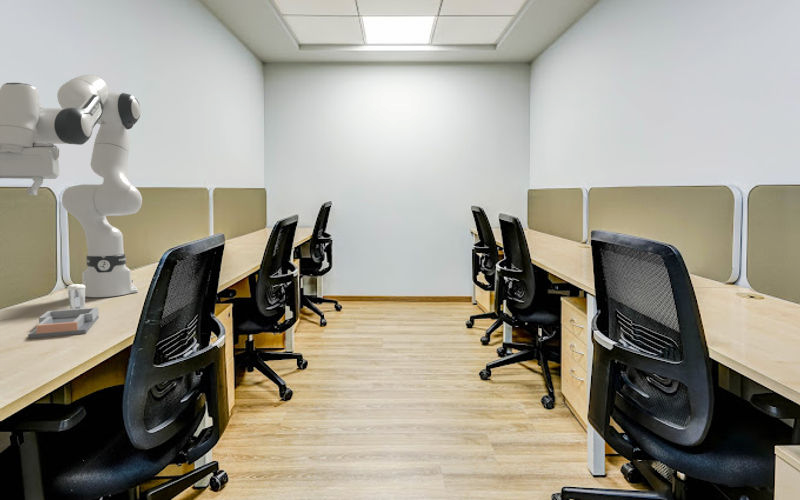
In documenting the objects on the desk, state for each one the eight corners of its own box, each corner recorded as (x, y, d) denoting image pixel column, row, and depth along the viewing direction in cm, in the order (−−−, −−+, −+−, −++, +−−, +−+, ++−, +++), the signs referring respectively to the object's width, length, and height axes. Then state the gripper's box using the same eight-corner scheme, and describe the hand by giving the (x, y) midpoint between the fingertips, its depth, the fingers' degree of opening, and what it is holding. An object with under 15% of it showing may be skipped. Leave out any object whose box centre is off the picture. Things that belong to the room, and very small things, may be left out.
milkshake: (93, 312, 146) (91, 279, 145) (76, 316, 141) (73, 282, 140) (82, 311, 148) (80, 279, 147) (65, 315, 143) (62, 281, 142)
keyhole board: (48, 321, 136) (47, 311, 135) (98, 317, 140) (97, 307, 140) (28, 338, 119) (27, 326, 119) (85, 333, 124) (85, 321, 124)
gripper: (65, 147, 131) (62, 197, 130) (-20, 146, 128) (-24, 197, 127) (52, 139, 125) (49, 191, 123) (-37, 137, 122) (-42, 191, 120)
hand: (11, 194), depth 125 cm, fingers open, 8 cm apart
